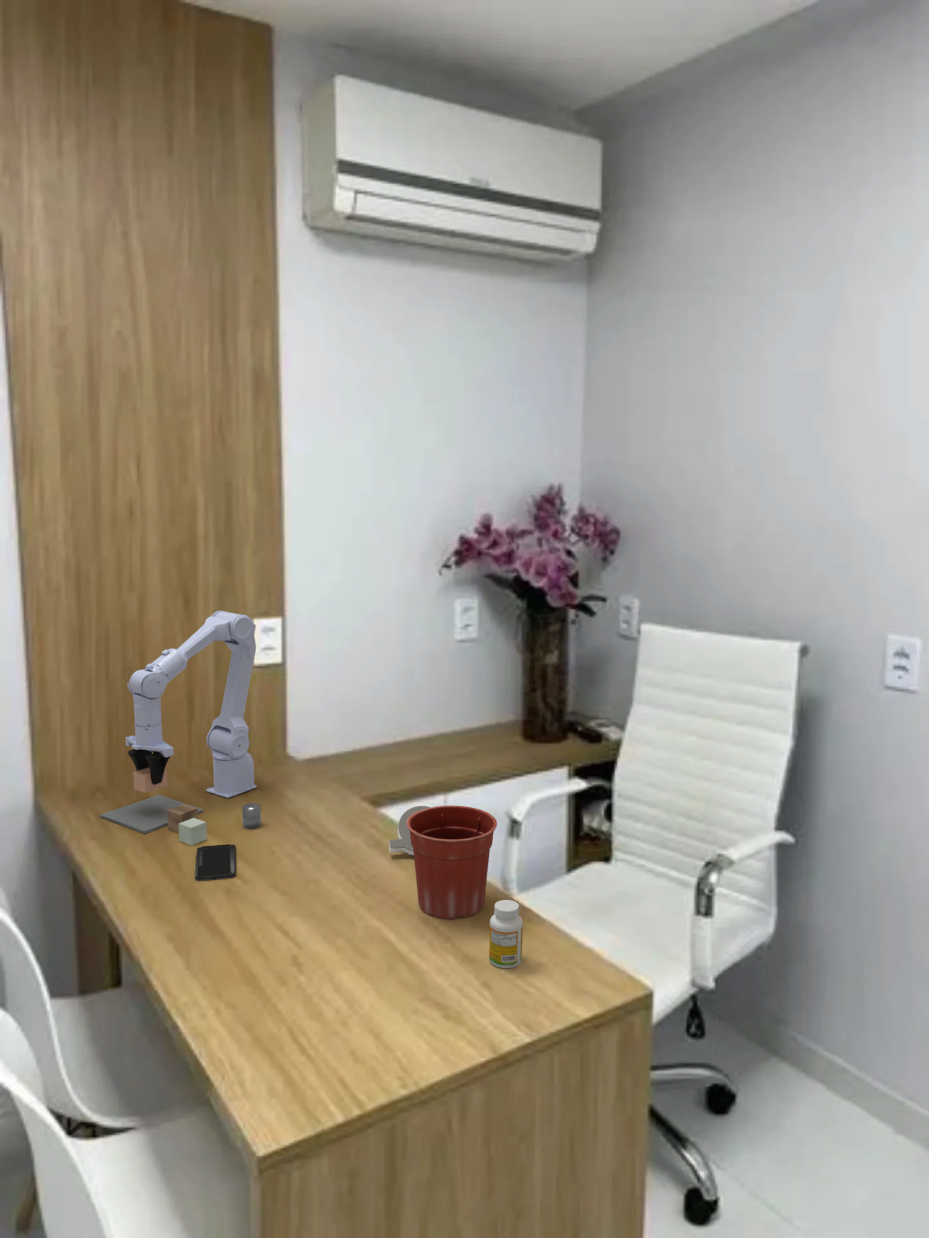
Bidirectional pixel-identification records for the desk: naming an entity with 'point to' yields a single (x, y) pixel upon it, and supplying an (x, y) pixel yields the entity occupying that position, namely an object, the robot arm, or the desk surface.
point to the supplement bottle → (506, 935)
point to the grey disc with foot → (404, 833)
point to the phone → (215, 862)
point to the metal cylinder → (251, 816)
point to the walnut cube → (180, 816)
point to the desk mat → (144, 814)
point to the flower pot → (451, 858)
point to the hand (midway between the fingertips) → (150, 781)
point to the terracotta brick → (147, 780)
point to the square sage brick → (192, 831)
